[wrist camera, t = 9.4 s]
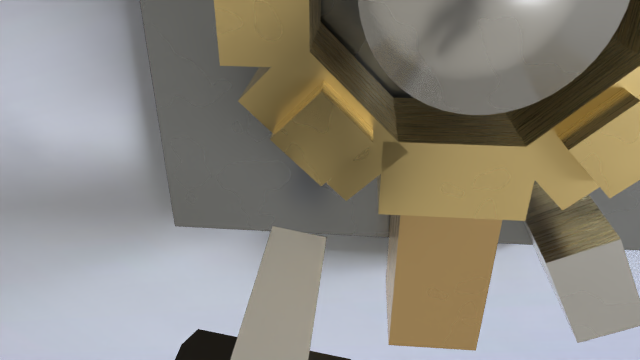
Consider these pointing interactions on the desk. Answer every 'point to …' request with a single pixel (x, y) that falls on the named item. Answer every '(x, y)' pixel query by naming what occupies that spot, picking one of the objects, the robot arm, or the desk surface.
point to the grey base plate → (400, 82)
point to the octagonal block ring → (433, 154)
